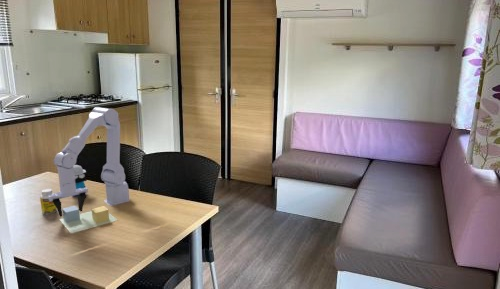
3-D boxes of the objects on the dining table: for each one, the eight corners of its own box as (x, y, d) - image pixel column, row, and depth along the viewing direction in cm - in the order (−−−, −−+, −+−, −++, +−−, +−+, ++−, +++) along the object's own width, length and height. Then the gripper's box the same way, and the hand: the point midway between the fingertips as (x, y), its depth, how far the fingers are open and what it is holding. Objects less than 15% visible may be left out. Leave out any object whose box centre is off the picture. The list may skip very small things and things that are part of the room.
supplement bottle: (43, 216, 158) (39, 193, 155) (41, 211, 162) (38, 189, 160) (57, 213, 161) (54, 191, 158) (56, 209, 165) (53, 187, 163)
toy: (69, 199, 175) (65, 169, 172) (68, 193, 183) (65, 163, 179) (89, 196, 179) (86, 166, 175) (87, 190, 187) (84, 161, 183)
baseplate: (103, 209, 165) (103, 207, 165) (117, 221, 154) (117, 220, 154) (59, 220, 154) (59, 219, 154) (71, 235, 142) (71, 233, 142)
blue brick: (76, 215, 158) (75, 205, 156) (80, 219, 154) (78, 209, 153) (63, 218, 154) (62, 208, 153) (67, 222, 151) (65, 212, 150)
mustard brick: (104, 215, 157) (103, 205, 156) (109, 219, 154) (108, 209, 153) (92, 219, 154) (91, 209, 153) (96, 223, 151) (95, 213, 149)
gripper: (82, 175, 158) (85, 205, 161) (44, 183, 148) (48, 214, 152) (88, 179, 152) (91, 210, 156) (49, 187, 143) (53, 220, 147)
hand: (70, 213), depth 153 cm, fingers open, 7 cm apart
